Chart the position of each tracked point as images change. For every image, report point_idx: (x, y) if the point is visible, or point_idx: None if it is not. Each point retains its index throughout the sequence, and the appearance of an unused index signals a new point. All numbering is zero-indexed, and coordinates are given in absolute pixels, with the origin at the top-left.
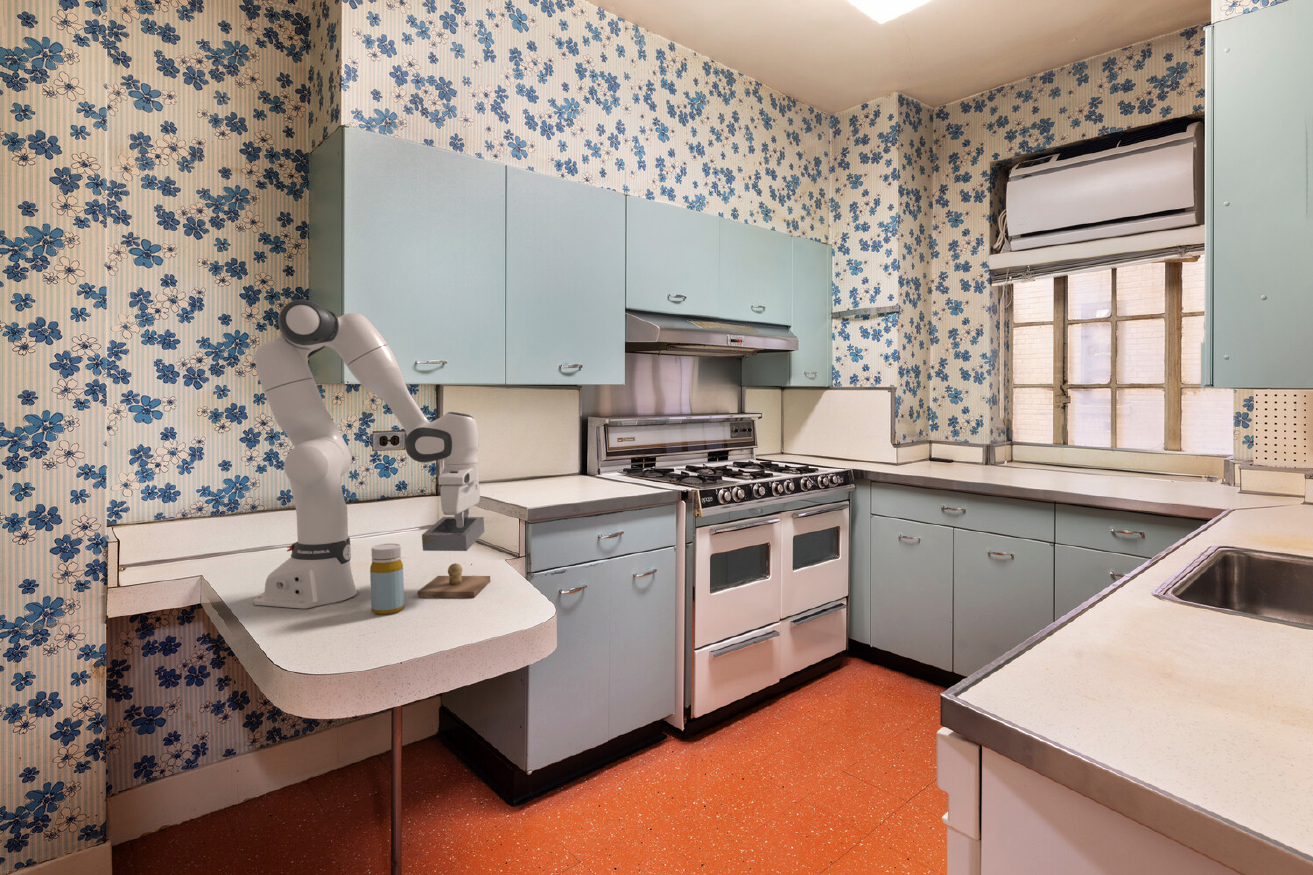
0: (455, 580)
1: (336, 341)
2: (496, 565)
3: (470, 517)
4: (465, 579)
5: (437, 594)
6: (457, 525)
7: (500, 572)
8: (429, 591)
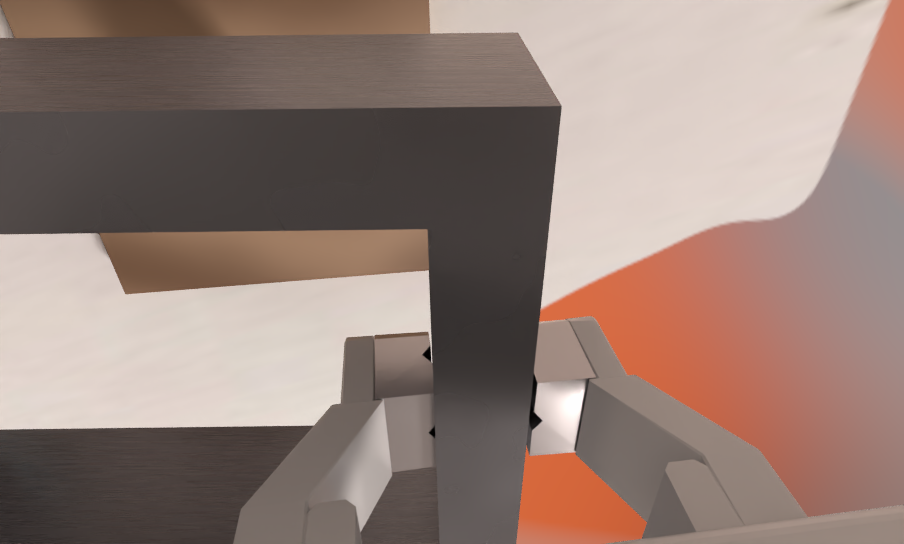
0: None
1: None
2: (766, 177)
3: (498, 525)
4: None
5: None
6: (348, 360)
7: (610, 244)
8: (10, 23)
